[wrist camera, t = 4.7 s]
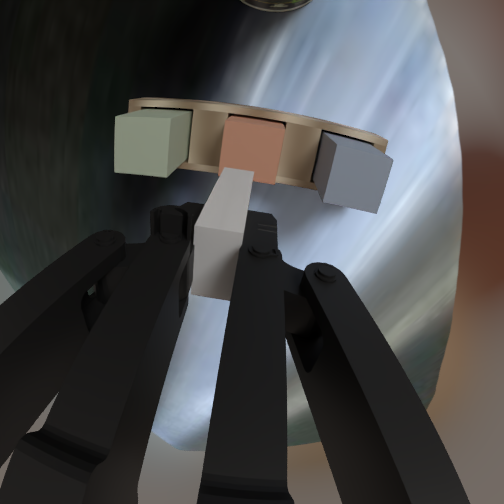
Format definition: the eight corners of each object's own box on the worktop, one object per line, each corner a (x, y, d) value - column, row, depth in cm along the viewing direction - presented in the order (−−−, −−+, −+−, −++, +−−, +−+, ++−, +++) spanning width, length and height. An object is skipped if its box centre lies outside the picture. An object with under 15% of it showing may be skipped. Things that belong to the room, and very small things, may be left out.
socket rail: (140, 154, 32) (126, 163, 29) (144, 97, 28) (129, 99, 25) (360, 189, 33) (370, 202, 29) (375, 133, 29) (388, 140, 26)
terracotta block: (228, 157, 31) (218, 175, 25) (234, 113, 28) (225, 120, 23) (273, 164, 31) (274, 184, 25) (281, 120, 29) (285, 129, 23)
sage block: (144, 153, 29) (114, 172, 23) (147, 108, 26) (115, 116, 20) (188, 157, 29) (166, 177, 23) (192, 111, 27) (170, 118, 21)
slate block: (311, 177, 30) (322, 202, 24) (322, 131, 27) (337, 144, 21) (356, 186, 30) (376, 213, 24) (368, 143, 27) (393, 159, 21)
